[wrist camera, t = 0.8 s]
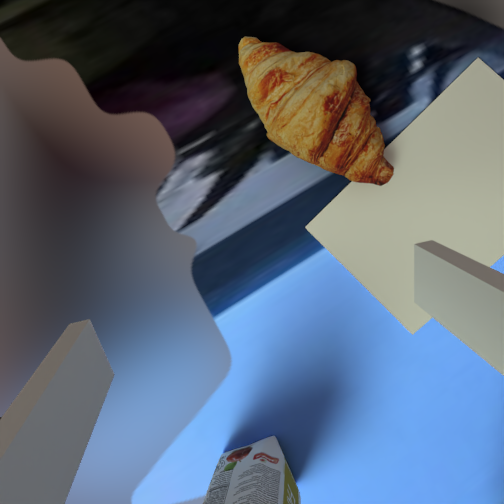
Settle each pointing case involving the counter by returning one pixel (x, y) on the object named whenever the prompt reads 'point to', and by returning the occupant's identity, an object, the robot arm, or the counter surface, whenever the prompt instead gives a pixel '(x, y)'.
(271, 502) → the juice carton
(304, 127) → the croissant
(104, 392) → the robot arm
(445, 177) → the mat
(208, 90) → the counter surface
